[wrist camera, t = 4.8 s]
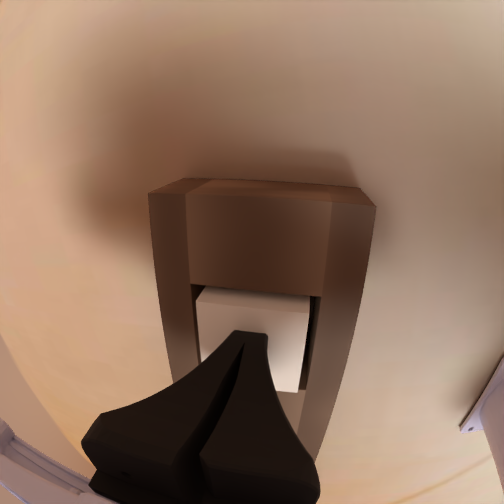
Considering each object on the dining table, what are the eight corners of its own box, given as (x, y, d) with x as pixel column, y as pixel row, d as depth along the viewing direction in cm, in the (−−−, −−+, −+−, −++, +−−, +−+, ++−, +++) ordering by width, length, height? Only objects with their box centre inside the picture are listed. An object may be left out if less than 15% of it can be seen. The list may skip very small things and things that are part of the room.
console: (360, 188, 13) (376, 206, 10) (292, 496, 24) (288, 524, 21) (183, 178, 14) (148, 193, 11) (216, 486, 25) (208, 512, 22)
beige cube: (310, 272, 14) (309, 313, 11) (301, 344, 16) (297, 392, 12) (220, 263, 15) (195, 301, 11) (222, 335, 16) (203, 379, 13)
